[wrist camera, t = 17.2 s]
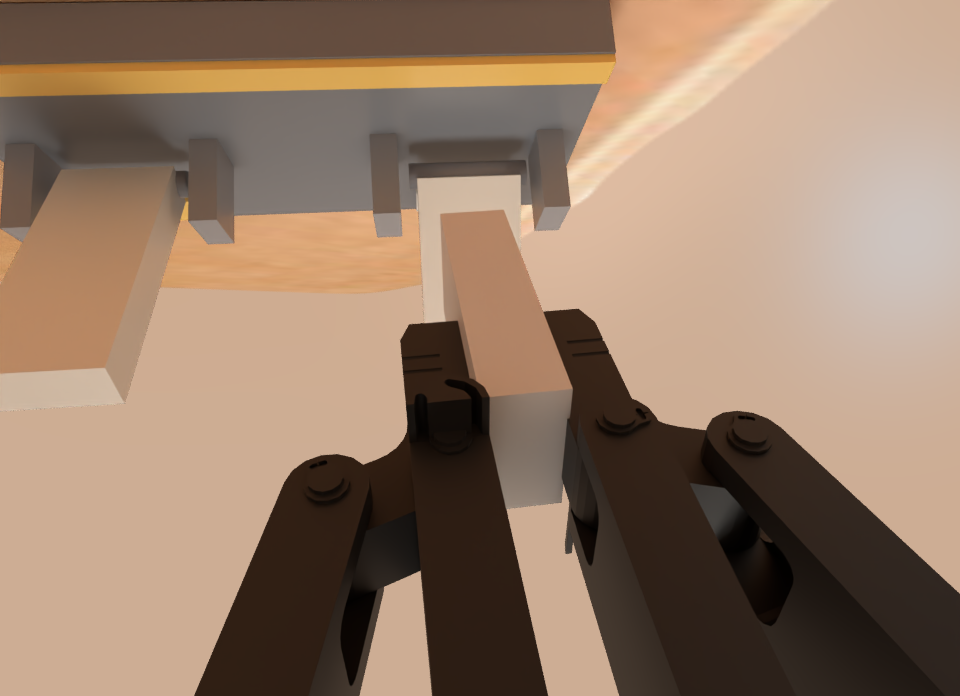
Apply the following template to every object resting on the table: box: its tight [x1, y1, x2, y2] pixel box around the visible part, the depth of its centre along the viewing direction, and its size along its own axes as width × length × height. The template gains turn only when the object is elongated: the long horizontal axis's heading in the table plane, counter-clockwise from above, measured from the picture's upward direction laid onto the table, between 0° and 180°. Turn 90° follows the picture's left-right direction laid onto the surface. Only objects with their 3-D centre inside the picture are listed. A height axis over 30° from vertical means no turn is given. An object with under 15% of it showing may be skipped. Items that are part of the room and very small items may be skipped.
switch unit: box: [0, 0, 616, 244], centre depth 27 cm, size 22×12×5 cm, turn 85°
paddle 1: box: [0, 166, 189, 411], centre depth 23 cm, size 5×2×10 cm
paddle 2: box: [408, 160, 527, 323], centre depth 29 cm, size 5×2×10 cm
